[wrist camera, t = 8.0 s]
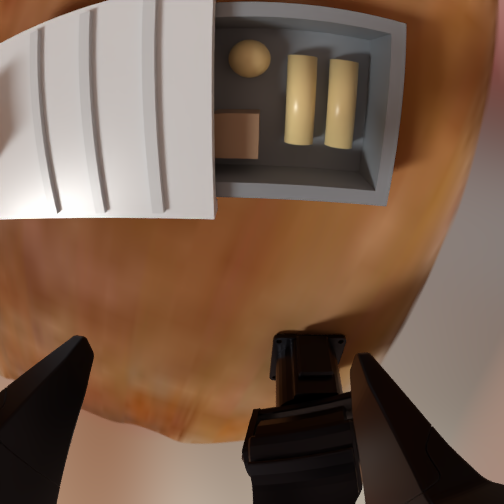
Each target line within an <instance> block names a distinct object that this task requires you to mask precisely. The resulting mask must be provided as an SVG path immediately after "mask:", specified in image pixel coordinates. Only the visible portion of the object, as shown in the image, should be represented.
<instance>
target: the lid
mask: <svg viewBox="0 0 504 504" xmlns="http://www.w3.org/2000/svg"><path fill="white" fill-rule="evenodd" d="M215 5H216V0H108V1H104V2H101V3H97V4H94V5H91V6H87V7H84V8H81V9H78V10H75V11H72V12H70V13H67V14H64V15H61V16H59V17H56V18H54V19H51V20H49V21H46V22H44V23H42V24H39V25H37V26H35V27H32V28H30V29H28V30H26V31H24V32H22V33H20V34H18V35H15V36H13V37H11V38H10V39H8V40H6V41H4V42H2V43H0V219H30V218H183V219H214V218H215V216H216V213H217V210H218V204H217V199H216V188H215V139H214V49H215Z"/></svg>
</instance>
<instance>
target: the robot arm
mask: <svg viewBox="0 0 504 504" xmlns="http://www.w3.org/2000/svg"><path fill="white" fill-rule="evenodd" d="M279 339H280V340H279ZM345 344H346V337H345V336H344V335H290V334H277V335H275V336H274V338H273V347H272V357H271V366H270V379H271V380H276V407H272V408H266V409H260V408H259V409H253V413H252V416H251V419H250V422H249V426H248V430H247V434H246V438H245V441H244V445H243V449H242V460H243V462H244V464H245V468H246V471H247V473H248V475H249V476H250V477H251V481H252V488H253V489H252V490H253V504H355V502H356V500H357V498H358V497H359V495H360V492H361V490H362V485H363V486H364V494H365V502H366V504H504V485H502V484H499V483H495V482H492V481H489V480H487V479H486V478H484V477H483V476H481V475H480V474H479V473H478V472H477V471H475V470H474V469H473V468H472V467H471V466H470V465H469V464H468V463H467V462H466V461H465V460H464V459H463V458H462V457H461V456H460V455H458V454H457V453H456V452H455V451H454V450H453V449H452V448H451V447H450V446H449V445H448V443H447V442H446V441H445V440H444V439H443V438H442V437H441V436H440V434H439V433H438V432H437V431H436V430H435V428H434V427H431V424H430V423H429V422H428V420H427V419H426V418H425V417H424V416H423V414H422V413H421V412H420V411H419V410H418V409H417V407H416V406H415V405H414V404H413V403H412V402H411V400H410V399H409V398H408V397H407V396H406V395H405V393H404V392H403V391H402V390H401V389H400V388H399V386H398V385H397V384H396V383H395V382H394V381H393V379H392V378H391V377H390V376H389V375H388V374H387V372H386V371H385V370H384V369H383V368H382V367H381V366H380V364H379V363H378V362H377V361H376V360H375V359H374V357H373V356H372V355H371V354H370V353H368V352H364V353H357V354H356V355H355V358H354V361H353V364H352V366H351V369H350V382H351V391H350V392H346V393H343V391H342V385H341V380H340V374H339V368H338V364H339V361H340V358H341V356H342V353H343V350H344V347H345ZM93 359H94V353H93V350H92V348H91V346H90V344H89V342H88V340H87V338H86V337H84V336H78V335H75V336H73V337H72V338H71V339H69V340H68V341H67V342H65V343H64V344H62V345H61V346H60V347H58V348H57V349H56V350H54V351H53V352H52V353H50V354H49V355H48V356H46V357H45V358H44V359H42V360H41V361H40V362H38V363H37V364H36V365H34V366H33V367H32V368H31V369H29V370H28V371H27V372H25V373H24V374H23V375H21V376H20V377H19V378H18V379H16V380H15V381H14V382H12V383H11V384H10V385H8V386H7V388H5V389H4V390H2V391H1V392H0V504H57V499H58V494H59V489H60V484H61V479H62V475H63V471H64V467H65V462H66V459H67V455H68V451H69V447H70V443H71V440H72V436H73V433H74V429H75V426H76V422H77V419H78V416H79V413H80V409H81V406H82V403H83V400H84V397H85V393H86V389H87V385H88V380H89V376H90V371H91V367H92V363H93Z"/></svg>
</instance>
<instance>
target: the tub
mask: <svg viewBox="0 0 504 504" xmlns="http://www.w3.org/2000/svg"><path fill="white" fill-rule="evenodd" d="M405 58H406V24H405V23H402V22H398V21H395V20H391V19H387V18H383V17H378V16H374V15H369V14H365V13H360V12H355V11H349V10H343V9H337V8H330V7H323V6H315V5H305V4H294V3H279V2H218V3H216V5H215V49H214V139H215V188H216V197H243V198H270V199H291V200H310V201H326V202H340V203H353V204H366V205H377V206H386V205H387V200H388V195H389V190H390V185H391V179H392V174H393V168H394V162H395V155H396V149H397V142H398V134H399V127H400V118H401V110H402V100H403V89H404V75H405Z"/></svg>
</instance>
